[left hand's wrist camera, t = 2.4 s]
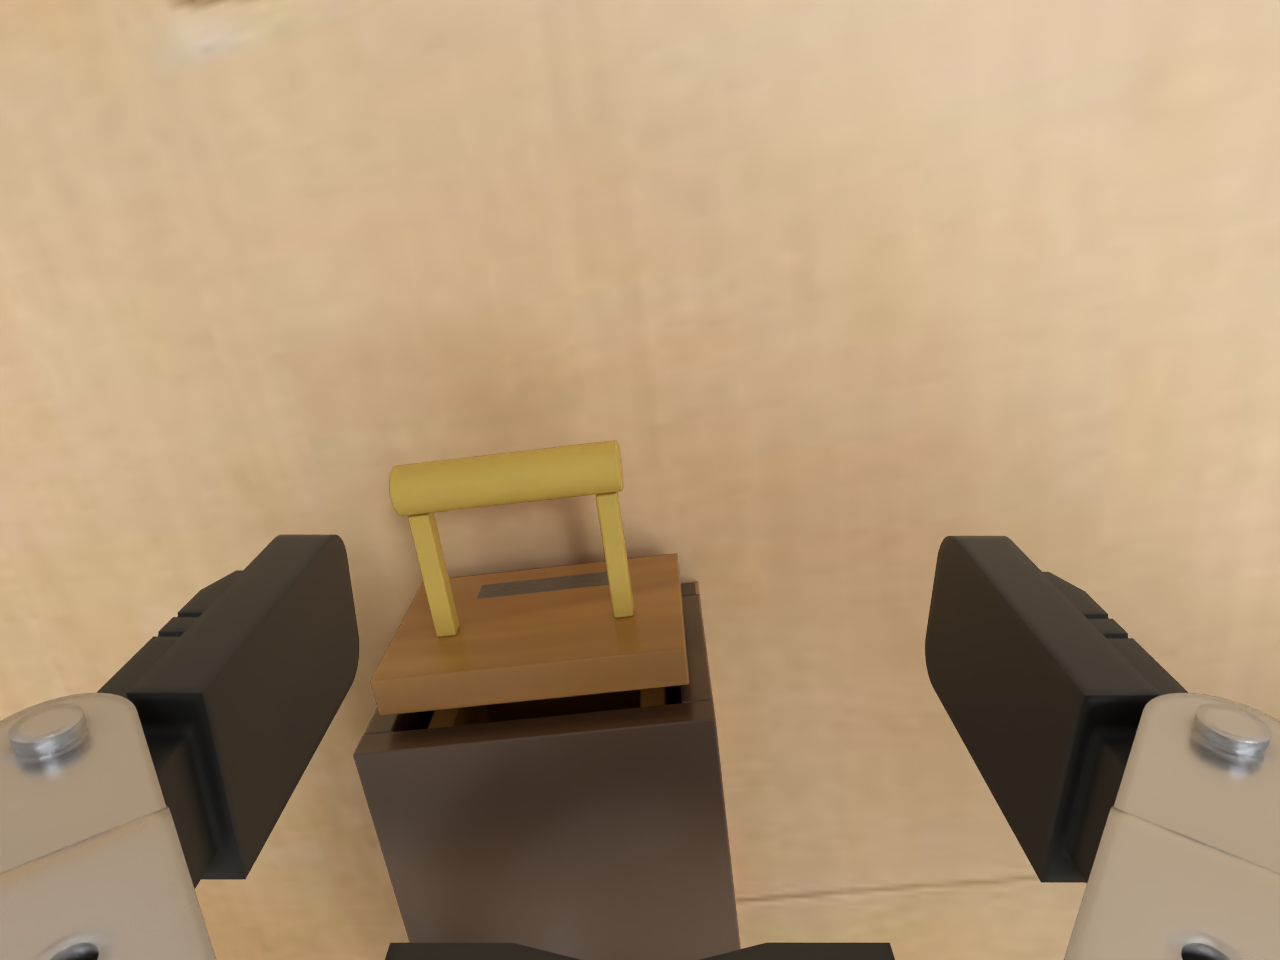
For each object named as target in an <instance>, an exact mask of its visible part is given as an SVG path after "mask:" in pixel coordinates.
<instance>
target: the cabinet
mask: <svg viewBox="0 0 1280 960" xmlns="http://www.w3.org/2000/svg"><path fill="white" fill-rule="evenodd" d="M681 593H682V604H683V615H684V626H685V638H686V649H687V660H688V671H689V684H688V685H679V686H671V693H672V701H673V704H669V705H659V706H649V707H639V708H629V709H619V710H609V711H599V712H589V713H579V714H569V715H559V716H549V717H539V718H529V719H519V720H509V721H499V722H489V723H479V724H469V725H460V726H450V727H440V728H430V729H428V726H429V724H430V721H431V719H432V716H433V713H434V711H435V710H433V711H423V712H413V713H403V714H393V715H383V716H380V714H379V711H378V707H377V709H376V711H375V713H374V715H373V717H372V719H371V721H370V723H369V725H368V727H367V729H366V731H365V734H364V735H363V736H362V738H361V740H360V742H359V744H358V746H357V748H356V750H355V752H354V755H353V756H354V760H355V763H356V766H357V770H358V773H359V776H360V780H361V783H362V786H363V789H364V793H365V796H366V799H367V803H368V806H369V809H370V813H371V816H372V819H373V822H374V826H375V829H376V832H377V836H378V839H379V842H380V846H381V849H382V852H383V855H384V859H385V862H386V865H387V869H388V872H389V875H390V879H391V882H392V885H393V888H394V892H395V895H396V898H397V902H398V905H399V908H400V912H401V915H402V918H403V921H404V925H405V928H406V931H407V935H408V938H409V941H410V943H516V944H520V945H524V946H528V947H532V948H536V949H540V950H544V951H548V952H552V953H556V954H560V955H564V956H568V957H572V958H576V959H580V960H700V959H704V958H708V957H712V956H716V955H720V954H724V953H728V952H732V951H736V950H740V940H739V931H738V921H737V912H736V903H735V894H734V885H733V875H732V866H731V857H730V848H729V839H728V829H727V820H726V811H725V802H724V793H723V783H722V774H721V765H720V756H719V747H718V737H717V728H716V719H715V711H714V704H713V696H712V688H711V681H710V673H709V665H708V658H707V650H706V642H705V635H704V627H703V619H702V611H701V603H700V594H699V586H698V582H695V583H687V584H681Z"/></svg>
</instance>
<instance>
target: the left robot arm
mask: <svg viewBox="0 0 1280 960" xmlns="http://www.w3.org/2000/svg"><path fill="white" fill-rule="evenodd" d="M925 656H926V665H927V670H928V675H929V678H930V681H931V684H932V686H933V688H934V690H935V691H936V693H937V695H938V697H939V699H940V700H941V702H942V704H943V706H944V708H945V710H946V711H947V713H948V715H949V717H950V719H951V720H952V722H953V724H954V726H955V728H956V729H957V731H958V733H959V735H960V737H961V738H962V740H963V742H964V744H965V746H966V747H967V749H968V751H969V753H970V755H971V756H972V758H973V760H974V762H975V764H976V765H977V767H978V769H979V771H980V773H981V775H982V776H983V778H984V780H985V782H986V784H987V785H988V787H989V789H990V791H991V793H992V794H993V796H994V798H995V800H996V802H997V803H998V805H999V807H1000V809H1001V811H1002V812H1003V814H1004V816H1005V818H1006V820H1007V821H1008V823H1009V825H1010V827H1011V829H1012V830H1013V832H1014V834H1015V836H1016V838H1017V840H1018V841H1019V843H1020V845H1021V847H1022V849H1023V850H1024V852H1025V854H1026V856H1027V858H1028V859H1029V861H1030V863H1031V865H1032V867H1033V868H1034V870H1035V872H1036V874H1037V876H1038V877H1039V879H1040V881H1041V882H1087V886H1086V889H1085V893H1084V896H1083V899H1082V902H1081V906H1080V909H1079V912H1078V915H1077V918H1076V922H1075V925H1074V928H1073V931H1072V935H1071V938H1070V941H1069V944H1068V947H1067V951H1066V954H1065V957H1064V960H1280V721H1278V720H1277V719H1275V718H1273V717H1271V716H1269V715H1267V714H1265V713H1263V712H1260V711H1258V710H1256V709H1253V708H1251V707H1249V706H1246V705H1243V704H1240V703H1237V702H1234V701H1231V700H1227V699H1223V698H1220V697H1215V696H1210V695H1204V694H1195V693H1188V692H1187V691H1186V690H1185V689H1184V688H1183V687H1182V686H1181V685H1180V684H1179V683H1178V682H1177V681H1176V680H1175V679H1174V678H1173V677H1172V676H1171V675H1170V674H1169V673H1168V672H1167V671H1166V670H1165V669H1164V668H1163V667H1162V666H1160V665H1159V664H1158V663H1157V662H1156V661H1155V660H1154V659H1153V658H1152V657H1151V656H1150V655H1149V654H1148V653H1147V652H1146V651H1145V650H1144V649H1143V648H1142V647H1141V646H1140V645H1139V644H1138V643H1137V642H1136V641H1135V640H1134V639H1128V633H1127V632H1126V631H1125V630H1124V629H1123V628H1122V627H1120V626H1119V625H1118V624H1117V623H1116V622H1115V621H1114V620H1113V619H1108V614H1107V613H1106V612H1105V611H1104V610H1103V609H1102V608H1101V607H1100V606H1099V605H1098V604H1097V603H1096V602H1095V601H1094V600H1093V599H1092V598H1091V597H1090V596H1089V595H1088V594H1087V593H1086V592H1085V591H1083V590H1081V589H1079V588H1077V587H1075V586H1074V585H1072V584H1070V583H1068V582H1066V581H1064V580H1063V579H1061V578H1059V577H1057V576H1055V575H1053V574H1051V573H1050V572H1042V571H1041V570H1040V569H1039V568H1038V567H1037V566H1036V565H1035V564H1034V563H1033V562H1032V561H1031V560H1030V559H1029V558H1028V557H1027V556H1026V555H1025V554H1024V553H1023V552H1022V551H1021V550H1020V549H1019V548H1018V547H1017V546H1016V545H1015V544H1014V543H1013V542H1012V541H1011V540H1010V539H1009V538H1008V537H1006V536H947V537H946V538H945V539H944V540H943V541H942V543H941V546H940V548H939V552H938V557H937V564H936V571H935V578H934V585H933V591H932V598H931V605H930V612H929V619H928V626H927V632H926V640H925ZM358 658H359V636H358V629H357V622H356V615H355V608H354V601H353V594H352V587H351V580H350V573H349V566H348V559H347V553H346V549H345V545H344V543H343V541H342V539H341V538H340V537H339V536H338V535H279V536H277V537H276V538H274V539H273V540H272V541H271V542H270V543H269V545H268V546H267V547H266V548H265V549H264V550H263V551H262V552H261V553H260V554H259V555H258V556H257V557H256V558H255V559H254V560H253V561H252V562H251V563H250V564H249V565H248V566H247V567H246V568H245V570H244V571H235V572H233V573H231V574H229V575H228V576H226V577H224V578H222V579H220V580H218V581H217V582H215V583H213V584H211V585H209V586H207V587H206V588H204V589H202V590H200V591H199V592H198V593H197V594H196V595H195V596H194V597H193V598H192V599H191V600H190V601H189V602H188V603H187V604H186V605H185V606H184V607H183V608H182V609H181V610H180V611H179V612H178V617H173V618H172V619H171V620H170V621H169V622H168V623H167V624H166V625H165V626H164V627H163V628H162V629H161V630H160V631H159V635H158V637H153V638H152V639H151V640H150V641H149V642H148V643H147V644H146V645H145V646H144V647H142V648H141V649H140V650H139V651H138V652H137V653H136V654H135V655H134V656H133V657H132V658H131V659H130V660H129V661H128V662H127V663H126V664H125V665H124V666H123V667H122V668H121V669H120V670H119V671H118V672H117V673H116V674H115V675H114V676H113V677H112V678H111V679H110V680H109V681H108V682H107V683H106V684H105V685H104V686H103V687H102V688H101V689H100V690H99V691H98V692H97V693H85V694H76V695H70V696H65V697H60V698H57V699H53V700H49V701H46V702H43V703H40V704H37V705H34V706H31V707H29V708H27V709H24V710H22V711H20V712H17V713H15V714H13V715H11V716H9V717H7V718H5V719H3V720H2V721H0V960H216V957H215V954H214V951H213V947H212V944H211V941H210V938H209V935H208V931H207V928H206V925H205V922H204V918H203V915H202V912H201V909H200V906H199V902H198V899H197V896H196V893H195V888H196V886H197V884H198V883H199V881H200V880H201V879H246V877H247V875H248V873H249V872H250V870H251V868H252V866H253V864H254V863H255V861H256V859H257V857H258V855H259V853H260V852H261V850H262V848H263V846H264V844H265V842H266V841H267V839H268V837H269V835H270V833H271V831H272V830H273V828H274V826H275V824H276V822H277V820H278V819H279V817H280V815H281V813H282V811H283V810H284V808H285V806H286V804H287V802H288V800H289V799H290V797H291V795H292V793H293V791H294V789H295V788H296V786H297V784H298V782H299V780H300V778H301V777H302V775H303V773H304V771H305V769H306V767H307V766H308V764H309V762H310V760H311V758H312V756H313V755H314V753H315V751H316V749H317V747H318V746H319V744H320V742H321V740H322V738H323V736H324V735H325V733H326V731H327V729H328V727H329V725H330V724H331V722H332V720H333V718H334V716H335V714H336V713H337V711H338V709H339V707H340V705H341V703H342V702H343V700H344V698H345V696H346V694H347V693H348V691H349V689H350V687H351V685H352V683H353V681H354V678H355V674H356V671H357V665H358ZM385 960H580V959H576V958H572V957H568V956H564V955H560V954H556V953H552V952H548V951H544V950H540V949H536V948H532V947H528V946H524V945H520V944H516V943H390V946H389V949H388V952H387V955H386V958H385ZM700 960H895V958H894V955H893V952H892V949H891V946H890V943H764V944H760V945H756V946H752V947H748V948H744V949H740V950H736V951H732V952H728V953H724V954H720V955H716V956H712V957H708V958H704V959H700Z"/></svg>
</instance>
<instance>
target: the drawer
mask: <svg viewBox="0 0 1280 960" xmlns="http://www.w3.org/2000/svg"><path fill="white" fill-rule="evenodd" d="M389 490H390V497H391V501H392V504H393V507H394V509H395V511H396V513H397V514H398V515H401V516H407V515H410V516H409V517H408V520H409V524H410V528H411V532H412V536H413V540H414V544H415V548H416V553H417V557H418V561H419V565H420V569H421V573H422V577H423V583H422V585H421V587H420V588H419V590H418V592H417V594H416V596H415V598H414V600H413V602H412V604H411V605H410V607H409V609H408V611H407V613H406V615H405V617H404V619H403V621H402V622H401V624H400V626H399V628H398V630H397V632H396V634H395V636H394V637H393V639H392V641H391V643H390V645H389V647H388V649H387V651H386V653H385V654H384V656H383V658H382V660H381V662H380V664H379V666H378V668H377V670H376V671H375V673H374V675H373V677H372V679H371V686H372V689H373V693H374V696H375V700H376V703H377V707H378V711H379V714H380V716H383V715H393V714H403V713H413V712H423V711H433V710H435V711H434V713H433V716H432V719H431V721H430V724H429V726H428V729H430V728H440V727H450V726H460V725H469V724H479V723H489V722H499V721H509V720H519V719H529V718H539V717H549V716H559V715H569V714H579V713H589V712H599V711H609V710H619V709H629V708H639V707H649V706H659V705H669V704H673V701H672V693H671V686H679V685H688V684H689V671H688V660H687V649H686V638H685V626H684V615H683V604H682V593H681V582H680V573H679V565H678V556H677V554H667V555H658V556H649V557H639V558H630V559H627V554H626V547H625V540H624V533H623V526H622V519H621V512H620V505H619V498H618V492H619V491H622V490H623V470H622V461H621V454H620V448H619V444H618V442H617V441H615V440H614V441H605V442H597V443H588V444H580V445H571V446H562V447H554V448H545V449H536V450H528V451H519V452H511V453H502V454H493V455H485V456H476V457H467V458H459V459H450V460H442V461H433V462H424V463H416V464H407V465H398V466H395V467H393V468H392V470H391V473H390V479H389ZM592 494H596V502H597V509H598V515H599V522H600V528H601V535H602V541H603V548H604V554H605V561H603V562H594V563H584V564H575V565H566V566H557V567H548V568H539V569H529V570H520V571H511V572H502V573H493V574H483V575H474V576H465V577H456V578H449V577H448V573H447V569H446V564H445V560H444V556H443V551H442V547H441V543H440V538H439V534H438V529H437V525H436V521H435V516H434V512H442V511H451V510H460V509H469V508H477V507H486V506H495V505H504V504H513V503H522V502H530V501H539V500H548V499H557V498H566V497H575V496H584V495H592Z"/></svg>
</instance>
